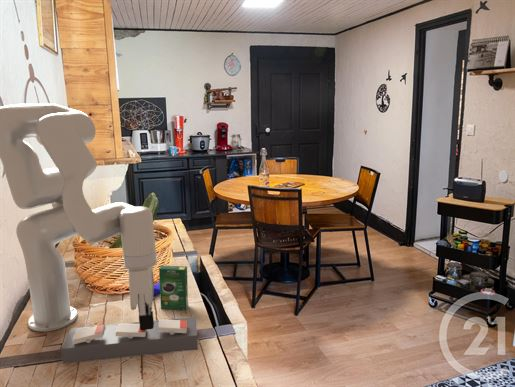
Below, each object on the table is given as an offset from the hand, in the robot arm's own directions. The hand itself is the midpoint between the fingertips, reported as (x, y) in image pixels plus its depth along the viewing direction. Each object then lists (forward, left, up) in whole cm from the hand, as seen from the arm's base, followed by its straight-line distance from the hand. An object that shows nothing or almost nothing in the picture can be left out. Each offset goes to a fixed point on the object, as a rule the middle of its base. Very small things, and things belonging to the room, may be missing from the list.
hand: (147, 327), depth 107 cm
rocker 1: (0, -14, -2) cm, 14 cm away
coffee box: (-20, +6, -6) cm, 22 cm away
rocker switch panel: (-2, -4, -6) cm, 7 cm away
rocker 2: (0, -4, -2) cm, 4 cm away
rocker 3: (0, +6, -2) cm, 6 cm away
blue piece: (-33, +1, -7) cm, 33 cm away
